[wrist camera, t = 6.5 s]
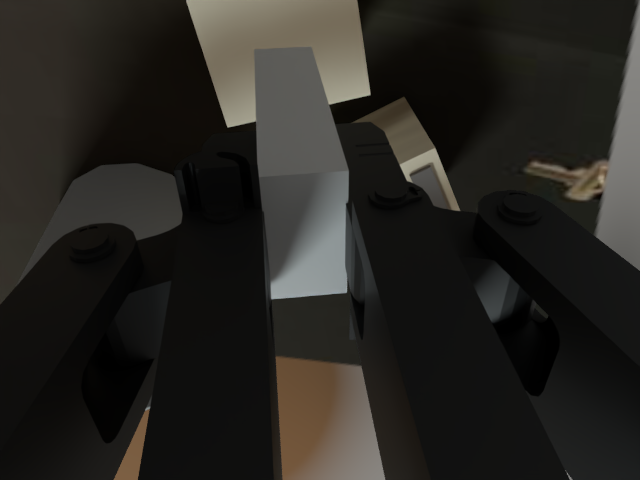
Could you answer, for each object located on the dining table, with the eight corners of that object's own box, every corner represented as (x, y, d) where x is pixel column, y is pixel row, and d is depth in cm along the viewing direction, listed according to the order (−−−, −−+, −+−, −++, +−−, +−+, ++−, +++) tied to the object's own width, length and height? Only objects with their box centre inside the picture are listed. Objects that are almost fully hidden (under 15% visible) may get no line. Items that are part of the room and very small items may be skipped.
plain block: (191, -57, 23) (175, -31, 18) (326, -89, 23) (347, -71, 18) (231, 76, 27) (227, 127, 22) (349, 49, 27) (370, 94, 22)
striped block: (303, 146, 29) (314, 207, 24) (403, 96, 28) (436, 150, 23) (347, 223, 33) (364, 291, 28) (438, 181, 32) (473, 244, 27)
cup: (198, 159, 29) (178, 278, 21) (217, 274, 34) (207, 406, 26) (37, 168, 28) (-45, 295, 21) (81, 284, 33) (27, 423, 25)
